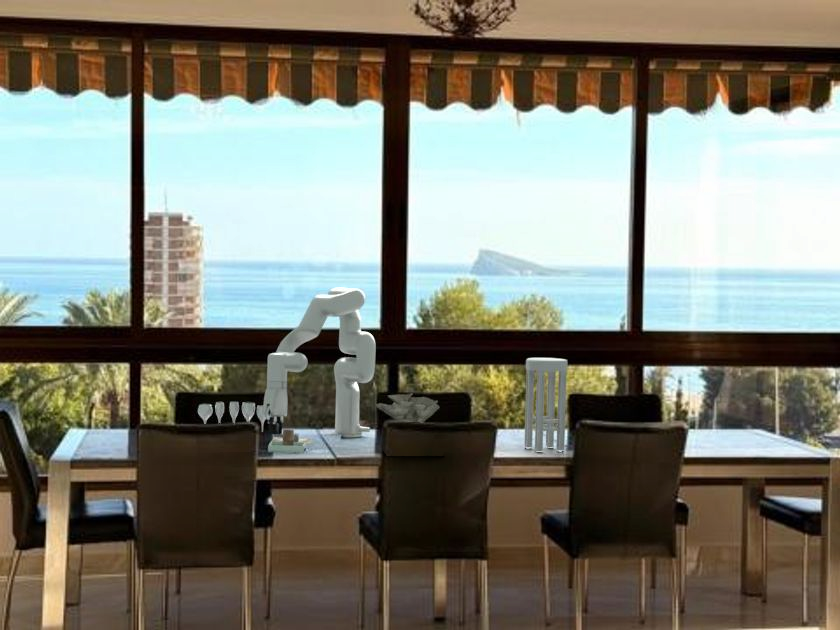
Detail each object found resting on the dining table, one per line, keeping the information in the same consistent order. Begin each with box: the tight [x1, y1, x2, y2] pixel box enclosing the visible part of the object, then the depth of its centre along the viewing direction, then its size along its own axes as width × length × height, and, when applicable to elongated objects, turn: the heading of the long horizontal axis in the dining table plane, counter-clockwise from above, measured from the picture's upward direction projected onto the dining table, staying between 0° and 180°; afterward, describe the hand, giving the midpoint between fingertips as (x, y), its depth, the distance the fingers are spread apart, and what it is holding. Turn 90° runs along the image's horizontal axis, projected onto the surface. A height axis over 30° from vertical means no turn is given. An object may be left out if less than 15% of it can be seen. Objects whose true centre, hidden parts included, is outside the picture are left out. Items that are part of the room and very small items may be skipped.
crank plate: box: [268, 437, 313, 446], centre depth 471 cm, size 15×15×2 cm
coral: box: [375, 392, 441, 424], centre depth 460 cm, size 25×20×22 cm
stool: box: [524, 357, 568, 452], centre depth 473 cm, size 16×16×35 cm
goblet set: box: [197, 401, 267, 433], centre depth 494 cm, size 28×6×13 cm, turn 93°
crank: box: [273, 423, 300, 442], centre depth 470 cm, size 11×4×6 cm, turn 66°
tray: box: [267, 440, 307, 454], centre depth 457 cm, size 13×10×2 cm
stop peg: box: [282, 428, 295, 446], centre depth 457 cm, size 4×4×7 cm
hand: (275, 433), depth 472 cm, fingers open, 2 cm apart
